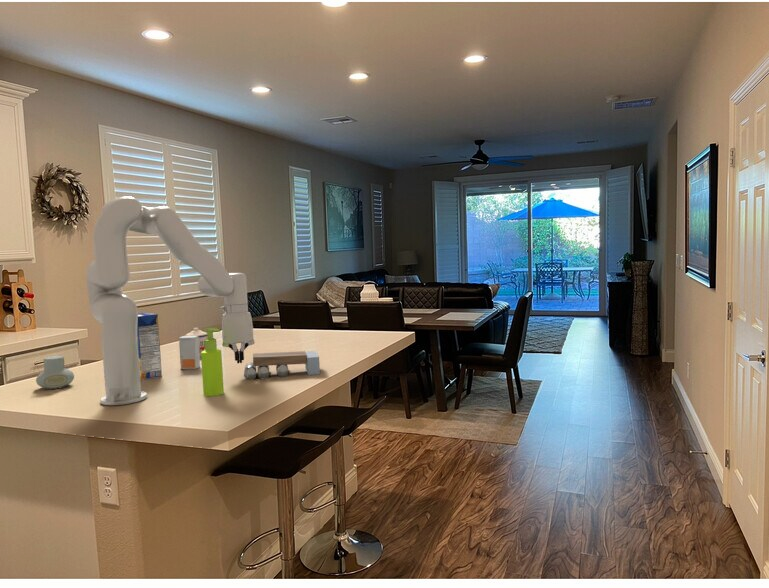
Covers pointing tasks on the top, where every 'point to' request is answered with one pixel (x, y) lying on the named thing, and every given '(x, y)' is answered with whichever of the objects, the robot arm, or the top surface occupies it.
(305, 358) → the slab
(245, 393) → the top surface
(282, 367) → the roller
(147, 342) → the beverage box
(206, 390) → the soap dispenser
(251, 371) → the roller
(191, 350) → the skincare box
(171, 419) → the top surface
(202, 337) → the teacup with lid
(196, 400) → the top surface
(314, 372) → the stop block
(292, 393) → the top surface
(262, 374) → the roller middle
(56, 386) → the air freshener
